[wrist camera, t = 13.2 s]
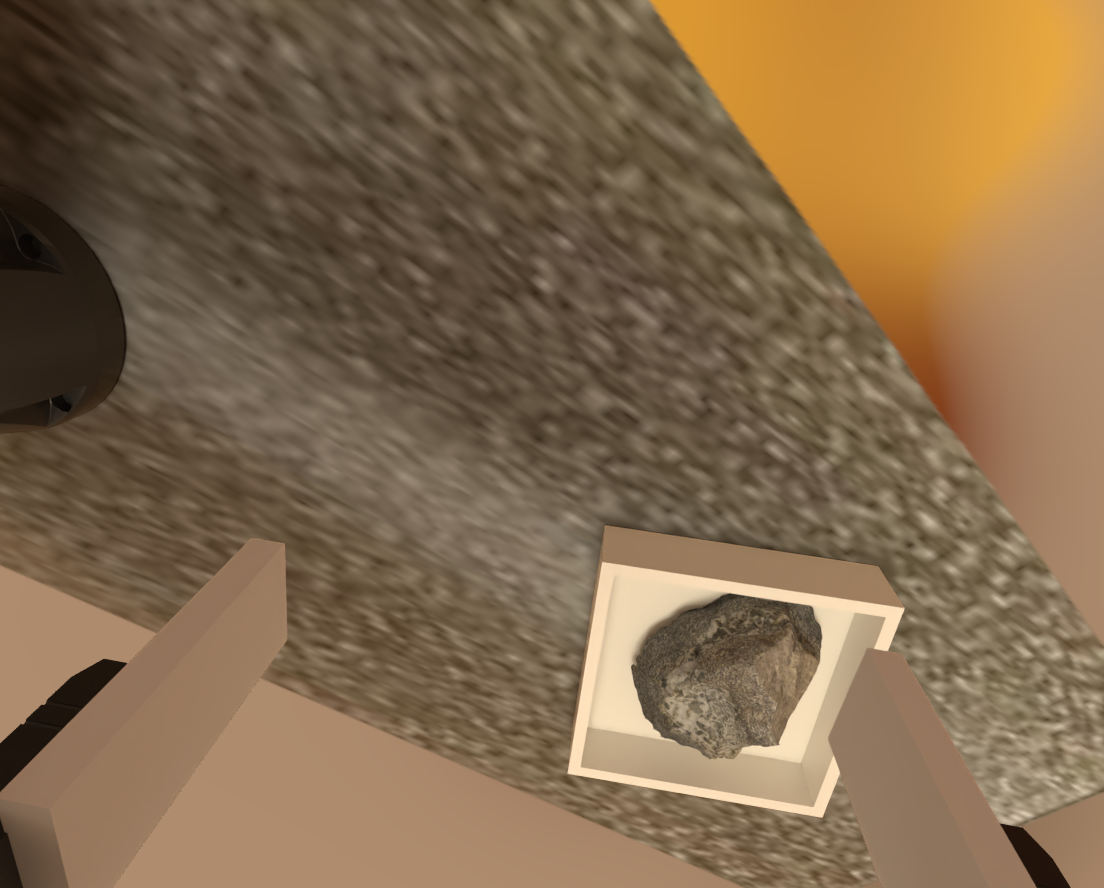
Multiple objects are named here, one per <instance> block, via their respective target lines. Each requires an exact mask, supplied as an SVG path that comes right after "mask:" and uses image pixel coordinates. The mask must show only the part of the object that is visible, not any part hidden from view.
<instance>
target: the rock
mask: <svg viewBox="0 0 1104 888" xmlns="http://www.w3.org/2000/svg"><path fill="white" fill-rule="evenodd" d="M821 642H822V632H821V626H820V624H819V623H818V622H817V621H816V620H815V616H814V610H813V608H812V606H810V605H803V604H797V603H790V602H784V601H777V600H771V599H764V598H758V597H751V596H745V595H738V594H732V593H729V594H727V595H723V596H721V597H720V598H718V599H717V600H716V601H713V603H711V604H708V605H706V606H704V607H703V608H701V609H697V608H696V609H693V610H688V611H686V612H683V613H681V615H680V616H679V617H678V618H677V619H675V620H673V621H672V624H671V625H669V626H666V627H663V628H660V630H658V631H657V632H656V633H654V634H653V635H651V636H650V639H649V638H648V639H647V641H646V642H645V644H644V646H643V648H642V650H641V655H638V656H637V658H636V663H637V664H636V666H635V665H634V664H633V665H632V666H631V671H632V675H633V681H634V682H633V683H634V686H635V689H637V695H638V699H639V701H640V704H641V707H642V712H643V715H644V717H645V719H647V720H649V721H650V723H651V724H652V725H653V729H654V730H656V731H658V732H659V733H660V735H661V737H663V738H665V739H671V740H674V741H676V742H677V743H678V744H680V745H682V746H689V747H692V748H694V749H697V750H699V751H700V752H701V753H702V755H704V756H705V757H707V758H708V759H717V758H724V757H725V758H727V759H734V758H735V757H736V756H737V755H738V754H739V753H740V752H741V750H742V748H744V747H749V746H752V745H753V746H762V747H770V746H778V745H780V744H779V741H780V739H781V736H782V734H783V732H784V730H785V728H786V725H787V722H788V719H789V717H790V716H791V714H792V713H793V712H794V711H795V709H796V707H797V704H798V702H799V701H800V699H801V698H802V696H803V694H804V693H805V692H806V690H807V688H808V686H809V684H810V682H811V681H812V679H813V677H814V675H815V673H816V671H817V668H818V665H819V663H820V650H821V647H822V646H821Z"/></svg>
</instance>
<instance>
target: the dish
mask: <svg viewBox="0 0 1104 888" xmlns="http://www.w3.org/2000/svg"><path fill="white" fill-rule="evenodd" d="M729 593H732V594H738V595H745V596H751V597H758V598H764V599H771V600H777V601H784V602H790V603H797V604H803V605H810V606H812V608H813V610H814V616H815V620H816V621H817V622H818V623H819V624H820V626H821V632H822V642H821V646H822V647H821V650H820V663H819V665H818V668H817V671H816V673H815V675H814V677H813V679H812V681H811V682H810V684H809V686H808V688H807V690H806V692H805V693H804V694H803V696H802V698H801V699H800V701H799V702H798V704H797V707H796V709H795V711H794V712H793V713H792V714H791V716H790V717H789V719H788V722H787V725H786V728H785V730H784V732H783V734H782V736H781V739H780V741H779V744H780V745H778V746H770V747H762V746H753V745H752V746H749V747H744V748H742V750H741V752H740V753H739V754H738V755H737V756H736V757H735V758H734V759H727V758H725V757H724V758H717V759H708V758H707V757H705V756H704V755H702V753H701V752H700V751H699V750H697V749H694V748H692V747H689V746H682V745H680V744H678V743H677V742H676V741H674V740H671V739H665V738H663V737H661V735H660V733H659V732H658V731H656V730H654V729H653V725H652V724H651V723H650V721H649V720H647V719H645V717H644V715H643V712H642V707H641V704H640V701H639V699H638V695H637V689H635V686H634V683H633V682H634V681H633V675H632V671H631V666H632V665H633V664H634V665H635V666H636V664H637V663H636V658H637V656H638V655H641V650H642V648H643V646H644V644H645V642H646V641H647V639H648V638H649V639H650V636H651V635H653V634H654V633H656V632H657V631H658V630H660V628H663V627H666V626H669V625H671V624H672V621H673V620H675V619H677V618H678V617H679V616H680V615H681V613H683V612H686V611H688V610H693V609H696V608H697V609H701V608H703V607H704V606H706V605H708V604H711V603H713V601H716V600H717V599H718V598H720V597H721V596H723V595H727V594H729ZM903 611H904V607H903V605H902V603H901V602H900V600H899V599H898V597H897V595H896V594H895V592H894V591H893V589H892V587H891V586H890V584H889V583H888V581H887V579H886V578H885V576H884V575H883V573H882V571H881V570H880V568H879V567H878V566H874V565H868V564H861V563H854V562H848V561H841V560H834V559H828V558H821V557H814V556H808V555H801V554H794V553H788V552H781V551H774V550H768V549H761V548H754V547H748V546H741V545H734V544H728V543H721V542H714V541H708V540H701V539H694V538H688V537H681V536H674V535H668V534H661V533H654V532H648V531H641V530H634V529H628V528H621V527H614V526H608V525H605V527H604V533H603V540H602V546H601V552H600V558H599V565H598V571H597V577H596V583H595V589H594V596H593V602H592V608H591V614H590V621H589V627H588V633H587V639H586V645H585V652H584V658H583V664H582V670H581V677H580V683H579V689H578V695H577V702H576V708H575V714H574V720H573V727H572V737H571V747H570V756H569V766H568V774H574V775H580V776H585V777H591V778H597V779H603V780H608V781H614V782H620V783H626V784H632V785H637V786H643V787H649V788H655V789H660V790H666V791H672V792H678V793H683V794H689V795H695V796H701V797H707V798H712V799H718V800H724V801H730V802H735V803H741V804H747V805H753V806H759V807H764V808H770V809H776V810H782V811H787V812H793V813H799V814H805V815H811V816H816V817H823V814H824V812H825V809H826V807H827V804H828V802H829V799H830V797H831V794H832V792H833V789H834V786H835V784H836V781H837V779H838V776H839V774H840V771H839V768H838V766H837V763H836V760H835V757H834V755H833V752H832V749H831V746H830V744H829V741H828V737H829V735H830V732H831V730H832V728H833V725H834V723H835V721H836V718H837V716H838V714H839V711H840V709H841V707H842V704H843V702H844V700H845V697H846V695H847V693H848V690H849V688H850V686H851V683H852V681H853V679H854V676H855V674H856V672H857V669H858V667H859V665H860V662H861V660H862V658H863V655H864V653H865V651H866V648H872V649H878V650H883V651H888V649H889V647H890V644H891V641H892V639H893V636H894V634H895V631H896V629H897V626H898V624H899V621H900V619H901V616H902V613H903Z"/></svg>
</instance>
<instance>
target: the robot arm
mask: <svg viewBox="0 0 1104 888" xmlns="http://www.w3.org/2000/svg"><path fill="white" fill-rule="evenodd" d="M123 357H124V328H123V322H122V316H121V312H120V308H119V305H118V302H117V299H116V296H115V294H114V291H113V289H112V286H111V284H110V282H109V280H108V278H107V276H106V274H105V272H104V270H103V269H102V267H101V265H100V264H99V262H98V261H97V259H96V258H95V256H94V255H93V253H92V252H91V251H90V249H89V248H88V247H87V246H86V244H85V243H84V242H83V241H82V240H81V238H80V237H79V236H78V235H77V234H76V233H75V232H74V231H73V230H72V229H71V228H70V227H69V226H68V225H67V224H66V223H65V222H64V221H63V220H61V219H60V218H59V217H58V216H57V215H55V214H54V213H53V212H52V211H50V210H49V209H47V208H46V207H45V206H43V205H42V204H40V203H38V202H37V201H35V200H33V199H32V198H30V197H28V196H26V195H24V194H22V193H20V192H18V191H15V190H13V189H10V188H8V187H5V186H1V185H0V434H1V433H15V432H28V431H37V430H42V429H46V428H50V427H53V426H57V425H59V424H61V423H64V422H66V421H68V420H71V419H73V418H75V417H77V416H80V415H82V414H84V413H86V412H88V411H90V410H91V409H93V408H94V407H96V406H97V405H98V404H99V403H101V402H102V401H103V400H104V399H105V398H106V396H107V395H108V394H109V393H110V391H111V390H112V388H113V387H114V385H115V383H116V381H117V379H118V376H119V374H120V370H121V367H122V362H123ZM286 641H287V609H286V568H285V544H284V543H279V542H273V541H268V540H262V539H256V538H251V539H250V540H249V541H248V542H247V543H246V544H245V545H244V546H243V547H242V548H241V549H240V550H239V551H238V552H237V553H236V554H235V555H234V556H233V557H232V558H231V559H230V560H229V561H228V562H227V563H226V564H225V565H224V566H223V567H222V568H221V569H220V570H219V571H218V572H217V574H216V575H215V576H214V577H213V578H212V579H211V580H210V581H209V582H208V583H207V584H206V585H205V586H204V587H203V588H202V589H201V590H200V591H199V592H198V593H197V594H196V595H195V596H194V597H193V598H192V599H191V600H190V601H189V602H188V603H187V604H186V605H185V606H184V607H183V608H182V609H181V610H180V611H179V612H178V613H177V614H176V615H175V616H174V617H173V618H172V619H171V620H170V621H169V622H168V623H167V624H166V625H165V626H164V627H163V628H162V629H161V630H160V631H159V632H158V633H157V634H156V635H155V636H154V637H153V638H152V640H150V642H148V643H147V644H146V646H144V647H143V648H142V649H141V650H140V651H139V652H138V653H137V654H136V655H135V656H134V657H133V659H131V660H130V662H129V663H124V662H119V661H113V660H108V659H103V660H101V661H99V662H97V663H96V664H94V665H92V666H90V667H88V668H87V669H85V670H83V671H81V672H79V673H78V674H76V675H74V676H72V677H71V678H70V679H69V680H68V681H67V682H66V683H65V684H64V685H62V686H61V687H60V688H59V689H58V690H57V691H56V692H55V693H54V694H53V695H52V696H51V697H50V698H48V700H47V702H46V704H45V705H41V706H40V707H39V708H38V709H37V710H36V711H34V712H33V713H32V714H31V715H30V716H29V717H28V718H27V719H26V722H25V724H20V725H19V726H18V727H17V728H16V729H15V730H14V731H13V732H12V733H11V734H10V735H9V736H8V737H7V738H5V739H4V740H3V741H2V742H1V743H0V888H113V887H114V886H115V884H116V883H117V881H118V880H119V878H120V877H121V876H122V874H123V873H124V871H125V870H126V868H127V867H128V866H129V864H130V863H131V861H132V860H133V859H134V857H135V856H136V854H137V853H138V851H139V850H140V849H141V847H142V846H143V844H144V843H145V841H146V840H147V839H148V837H149V836H150V834H151V833H152V831H153V830H154V829H155V827H156V826H157V824H158V823H159V822H160V820H161V819H162V817H163V816H164V814H165V813H166V812H167V810H168V809H169V807H170V806H171V804H172V803H173V802H174V800H175V799H176V797H177V796H178V794H179V793H180V792H181V790H182V788H183V787H184V786H185V785H186V783H187V782H188V780H189V779H190V777H191V776H192V774H193V773H194V772H195V770H196V769H197V767H198V766H199V764H200V763H201V762H202V760H203V759H204V757H205V756H206V755H207V753H208V752H209V750H210V749H211V747H212V746H213V745H214V743H215V742H216V740H217V739H218V738H219V736H220V734H221V733H222V732H223V730H224V729H225V728H226V726H227V725H228V723H229V722H230V720H231V719H232V718H233V716H234V715H235V713H236V712H237V710H238V709H239V708H240V706H241V705H242V703H243V702H244V700H245V699H246V698H247V696H248V695H249V693H250V692H251V691H252V689H253V687H254V686H255V685H256V683H257V682H258V681H259V679H260V678H261V676H262V675H263V673H264V672H265V671H266V669H267V668H268V666H269V665H270V663H271V662H272V661H273V659H274V658H275V656H276V655H277V653H278V652H279V651H280V649H281V648H282V646H283V645H284V644H285V642H286ZM828 741H829V744H830V746H831V749H832V752H833V755H834V757H835V760H836V763H837V766H838V768H839V771H840V774H841V777H842V780H843V782H844V785H845V788H846V791H847V793H848V796H849V799H850V802H851V804H852V807H853V810H854V813H855V815H856V818H857V821H858V824H859V827H860V829H861V832H862V835H863V838H864V840H865V843H866V846H867V849H868V851H869V854H870V857H871V860H872V862H873V865H874V868H875V871H876V874H877V876H878V879H879V882H880V885H881V887H882V888H1070V886H1069V884H1068V883H1067V881H1066V880H1065V878H1064V876H1063V875H1062V873H1061V872H1060V870H1059V868H1058V867H1057V865H1056V864H1055V862H1054V861H1053V859H1052V858H1051V857H1050V856H1049V854H1048V853H1047V852H1046V851H1045V850H1044V849H1043V848H1042V847H1041V846H1040V845H1039V844H1038V843H1037V842H1036V841H1035V840H1034V839H1033V838H1032V837H1031V836H1030V835H1029V834H1028V833H1027V832H1026V831H1025V830H1024V829H1023V828H1021V827H1016V826H1010V825H1005V824H1000V823H999V822H998V820H997V818H996V816H995V815H994V813H993V811H992V809H991V808H990V806H989V804H988V802H987V801H986V799H985V797H984V795H983V794H982V792H981V790H980V789H979V787H978V785H977V783H976V782H975V780H974V778H973V776H972V775H971V773H970V771H969V769H968V768H967V766H966V764H965V763H964V761H963V759H962V757H961V756H960V754H959V752H958V750H957V749H956V747H955V745H954V743H953V742H952V740H951V738H950V736H949V735H948V733H947V731H946V730H945V728H944V726H943V724H942V723H941V721H940V719H939V717H938V716H937V714H936V712H935V710H934V709H933V707H932V705H931V704H930V702H929V700H928V698H927V697H926V695H925V693H924V691H923V690H922V688H921V686H920V684H919V683H918V681H917V679H916V677H915V676H914V674H913V672H912V671H911V669H910V667H909V665H908V664H907V662H906V660H905V658H904V657H903V655H902V654H900V653H895V652H889V651H883V650H878V649H872V648H866V651H865V653H864V655H863V658H862V660H861V662H860V665H859V667H858V669H857V672H856V674H855V676H854V679H853V681H852V683H851V686H850V688H849V690H848V693H847V695H846V697H845V700H844V702H843V704H842V707H841V709H840V711H839V714H838V716H837V718H836V721H835V723H834V725H833V728H832V730H831V732H830V735H829V737H828Z"/></svg>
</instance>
